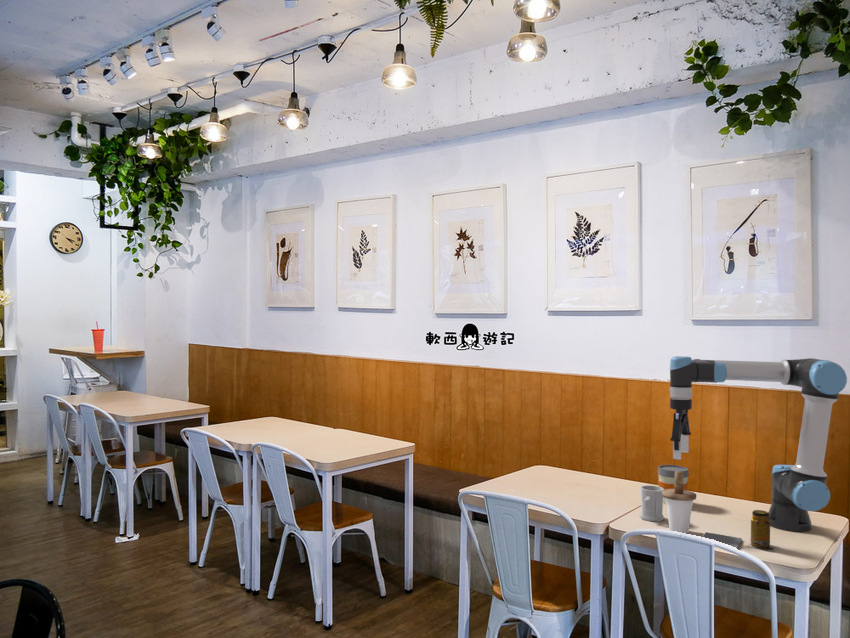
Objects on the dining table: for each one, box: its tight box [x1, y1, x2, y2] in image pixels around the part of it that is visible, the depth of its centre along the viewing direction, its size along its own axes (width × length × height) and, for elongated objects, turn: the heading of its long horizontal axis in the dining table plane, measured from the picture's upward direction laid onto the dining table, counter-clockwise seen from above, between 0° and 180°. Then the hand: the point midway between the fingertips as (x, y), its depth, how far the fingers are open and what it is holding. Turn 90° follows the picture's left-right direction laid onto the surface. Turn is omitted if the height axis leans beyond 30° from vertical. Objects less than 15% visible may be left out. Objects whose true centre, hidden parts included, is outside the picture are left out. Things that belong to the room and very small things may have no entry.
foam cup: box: [666, 498, 694, 534], centre depth 249 cm, size 10×9×13 cm
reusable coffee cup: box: [657, 464, 690, 506], centre depth 287 cm, size 13×13×15 cm
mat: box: [702, 531, 743, 549], centre depth 238 cm, size 12×12×1 cm
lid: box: [662, 471, 697, 501], centre depth 249 cm, size 12×12×9 cm
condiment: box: [746, 509, 779, 552], centre depth 234 cm, size 7×8×12 cm
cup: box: [639, 484, 664, 522], centre depth 264 cm, size 10×9×12 cm
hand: (680, 455), depth 249 cm, fingers open, 13 cm apart
